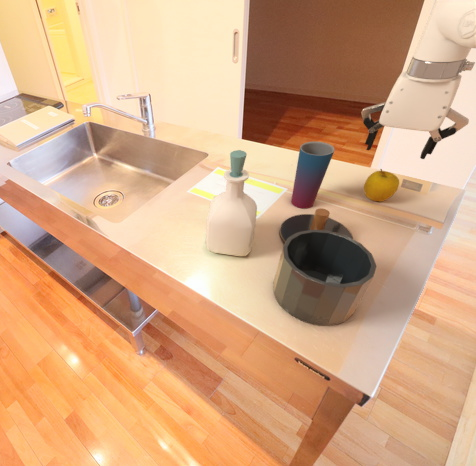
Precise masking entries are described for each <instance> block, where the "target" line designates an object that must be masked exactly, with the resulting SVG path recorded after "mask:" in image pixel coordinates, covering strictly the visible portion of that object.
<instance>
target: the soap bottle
mask: <svg viewBox="0 0 476 466" xmlns="http://www.w3.org/2000/svg"><path fill="white" fill-rule="evenodd" d="M247 155H248V153H247V152H246V151H245V150H241V149H237V150H233V151H230V153H229V156H230V159H229V160H230V168H229V169H227V170H225V171H224V173H223V179H224V180H225V181H226V185H225V190H224V191H222V192H221V193H219V194H218V195H215V197H213V198H212V200H211V202H210V203H209V210H208V213H207V217H206V231H205V232H206V233H205V245H206V248H207V250H208V251H209V252H211V253H215V254H221V255H228V256H229V255H230V256H236V257H246V256H248V254H250V252H251V251H252V248H253V242H254V236H255V229H256V222H257V212H258V205H257V203H256V201H255V200H254V199H253V198H252V197H251V196H250V195H248V194H247V193H245V192H244V187H245V182H246V181H248V180H249V177H250V173H249V172H248V171H247V170H246V169H244V166H245V162H246V159H247Z"/></svg>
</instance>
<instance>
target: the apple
mask: <svg viewBox="0 0 476 466" xmlns="http://www.w3.org/2000/svg"><path fill="white" fill-rule="evenodd" d="M363 185H364V186H363V191H364V194H365V195H364V196H365V197H366V198H368V199H369V200H370V201H373V202H384V201H386V200H388V199H390V198H391V197H392V196H394V195H395V194H396V193H397V191H398V189H399V186H400V179H399V178H398V176H397V175H396V174H394V173H392V172H390V171H385V170H383V169H382V168H380V169H379V170H376V171H374V172H372V173H371V174H370V175H368V176H367V178H366V180H365V183H364V184H363Z"/></svg>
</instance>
